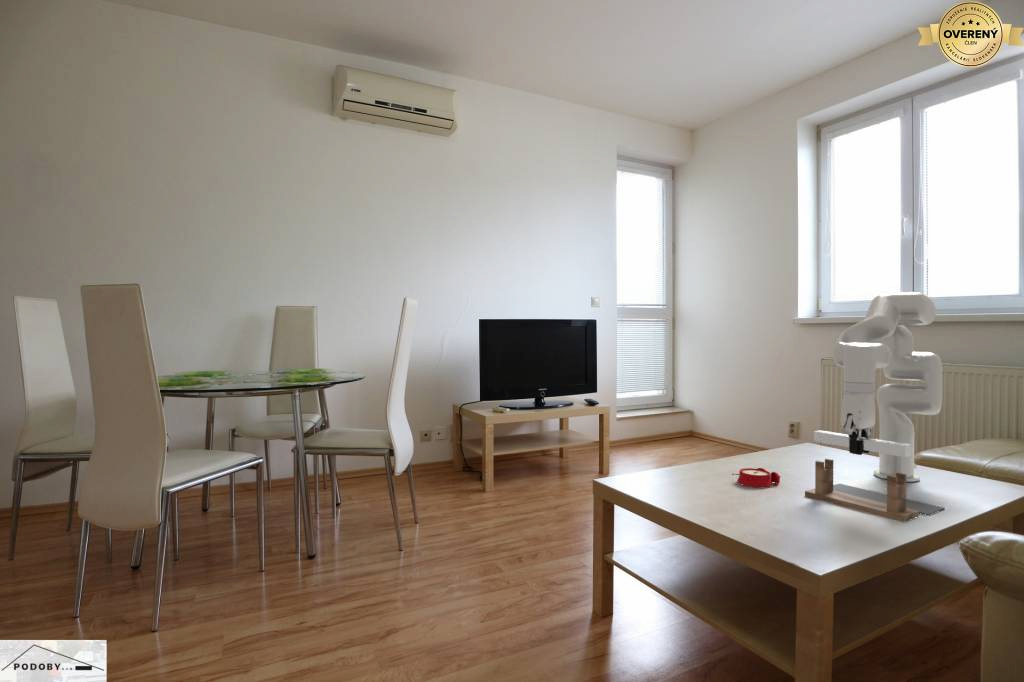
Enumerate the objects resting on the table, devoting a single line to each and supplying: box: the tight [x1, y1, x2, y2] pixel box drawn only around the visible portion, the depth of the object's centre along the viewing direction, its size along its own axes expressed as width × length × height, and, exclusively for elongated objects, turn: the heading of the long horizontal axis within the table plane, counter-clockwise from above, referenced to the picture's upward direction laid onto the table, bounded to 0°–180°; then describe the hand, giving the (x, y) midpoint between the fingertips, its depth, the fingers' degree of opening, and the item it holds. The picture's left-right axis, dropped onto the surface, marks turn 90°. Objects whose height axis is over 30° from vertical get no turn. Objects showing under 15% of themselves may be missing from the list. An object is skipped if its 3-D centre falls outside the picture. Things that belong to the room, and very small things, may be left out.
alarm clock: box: [731, 467, 781, 488], centre depth 174 cm, size 10×6×15 cm
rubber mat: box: [833, 483, 945, 516], centre depth 157 cm, size 10×28×1 cm, turn 31°
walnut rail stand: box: [804, 458, 920, 523], centre depth 151 cm, size 8×26×11 cm, turn 31°
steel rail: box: [813, 429, 911, 457], centre depth 151 cm, size 3×24×3 cm, turn 31°
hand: (859, 452), depth 151 cm, fingers closed on steel rail, 3 cm apart
